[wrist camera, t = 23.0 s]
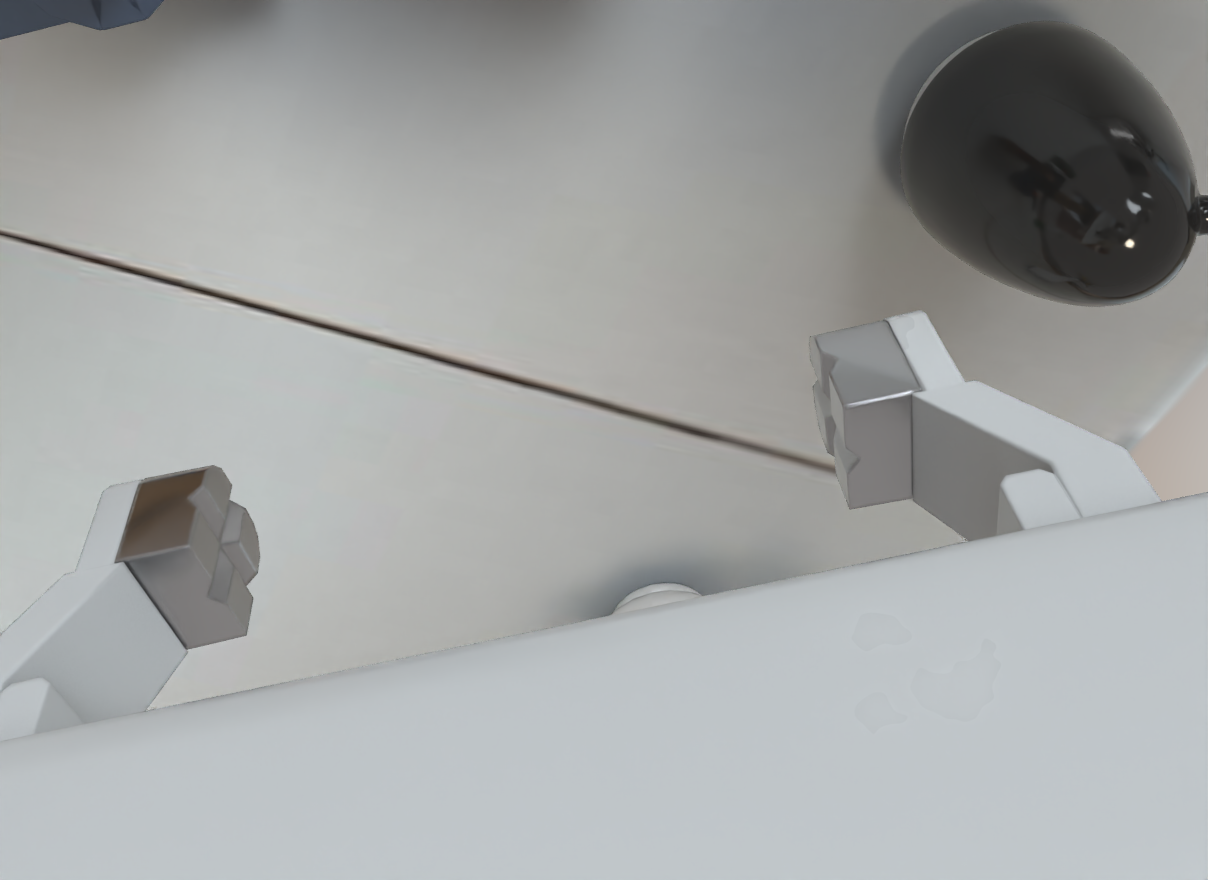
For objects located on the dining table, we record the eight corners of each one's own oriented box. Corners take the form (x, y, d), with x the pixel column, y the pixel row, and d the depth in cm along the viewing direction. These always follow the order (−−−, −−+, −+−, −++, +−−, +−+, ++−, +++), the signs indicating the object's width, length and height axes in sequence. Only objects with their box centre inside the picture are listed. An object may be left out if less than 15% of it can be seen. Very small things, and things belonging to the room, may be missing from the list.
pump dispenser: (1095, 190, 54) (1283, 348, 41) (882, 241, 54) (1005, 413, 42) (1105, -29, 48) (1327, 78, 36) (866, 30, 48) (1003, 157, 36)
